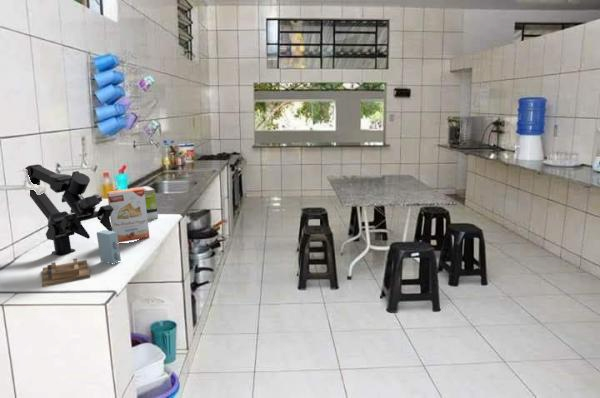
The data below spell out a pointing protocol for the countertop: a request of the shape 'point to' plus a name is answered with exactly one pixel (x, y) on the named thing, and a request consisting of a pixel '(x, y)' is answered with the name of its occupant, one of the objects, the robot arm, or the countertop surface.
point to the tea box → (150, 202)
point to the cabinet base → (65, 272)
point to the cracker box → (129, 214)
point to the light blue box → (108, 246)
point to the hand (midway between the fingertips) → (100, 234)
